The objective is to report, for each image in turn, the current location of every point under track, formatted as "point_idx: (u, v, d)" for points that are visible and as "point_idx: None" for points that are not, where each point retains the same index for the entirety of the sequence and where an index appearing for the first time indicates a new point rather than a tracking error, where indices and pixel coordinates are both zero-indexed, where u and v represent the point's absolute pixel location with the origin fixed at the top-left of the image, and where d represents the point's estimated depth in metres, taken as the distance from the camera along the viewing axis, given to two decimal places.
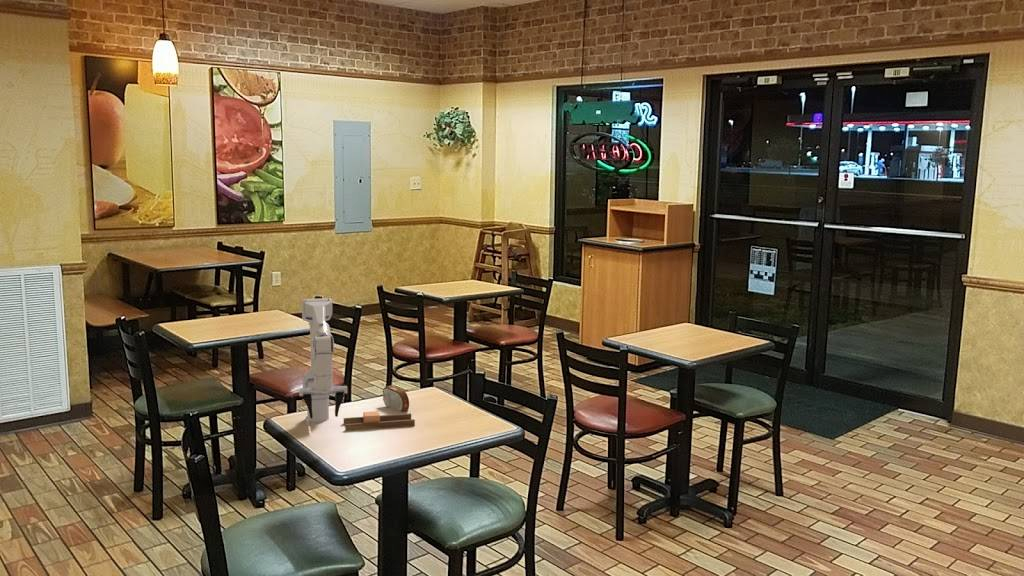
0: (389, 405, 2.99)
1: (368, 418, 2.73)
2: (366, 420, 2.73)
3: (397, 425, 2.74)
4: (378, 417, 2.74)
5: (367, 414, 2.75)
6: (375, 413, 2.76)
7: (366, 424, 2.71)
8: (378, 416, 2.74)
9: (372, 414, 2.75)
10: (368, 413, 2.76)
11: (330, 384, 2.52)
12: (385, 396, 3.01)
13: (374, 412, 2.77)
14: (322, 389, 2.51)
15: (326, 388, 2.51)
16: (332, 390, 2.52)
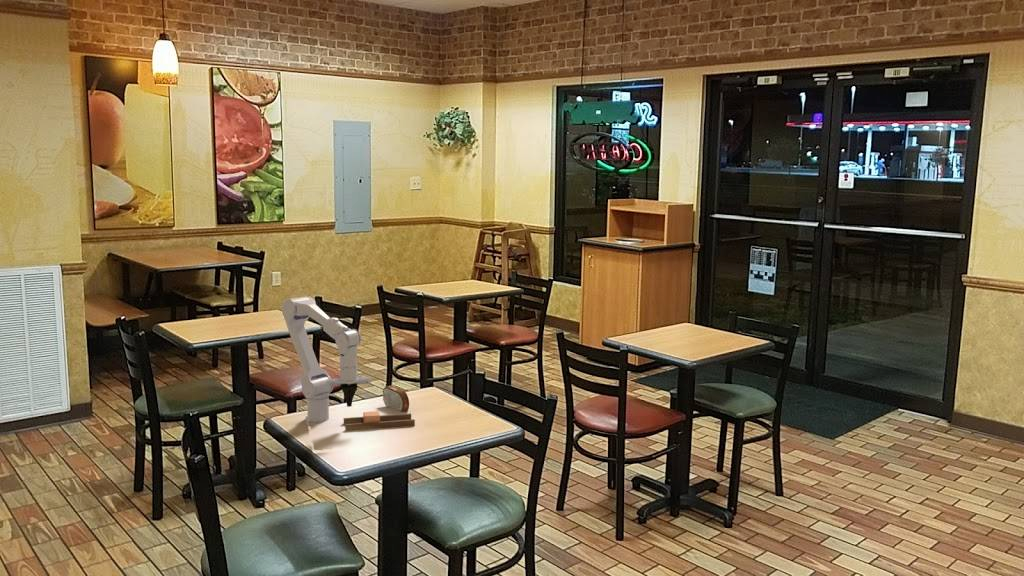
0: (389, 405, 2.99)
1: (368, 418, 2.73)
2: (366, 420, 2.73)
3: (397, 425, 2.74)
4: (378, 417, 2.74)
5: (367, 414, 2.75)
6: (375, 413, 2.76)
7: (366, 424, 2.71)
8: (378, 416, 2.74)
9: (372, 414, 2.75)
10: (368, 413, 2.76)
11: (355, 375, 2.70)
12: (385, 396, 3.01)
13: (374, 412, 2.77)
14: (348, 380, 2.69)
15: (351, 379, 2.69)
16: (357, 381, 2.70)
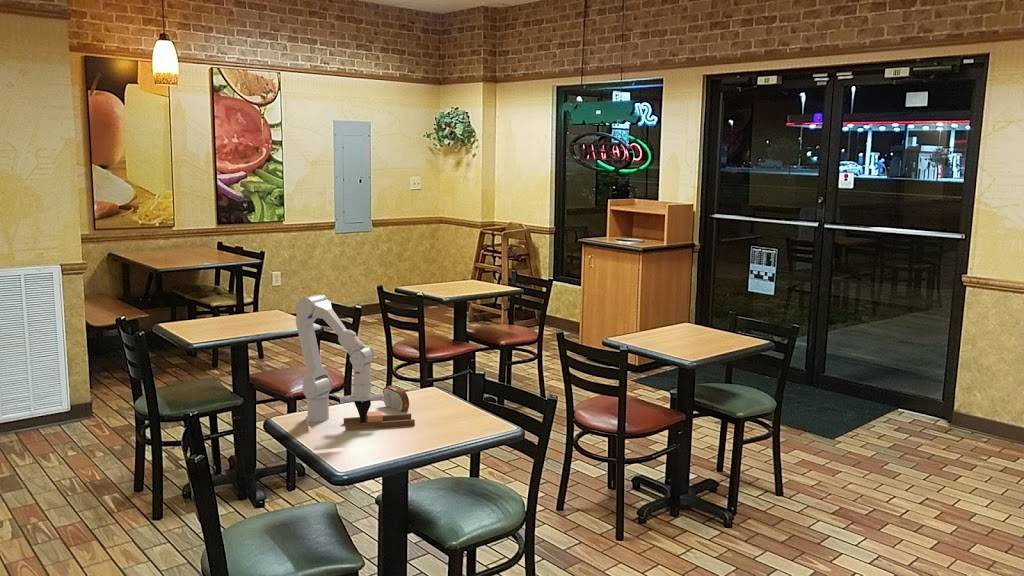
0: (389, 405, 2.99)
1: (371, 418, 2.73)
2: (369, 420, 2.73)
3: (397, 425, 2.74)
4: (381, 417, 2.74)
5: (369, 413, 2.75)
6: (377, 413, 2.76)
7: (366, 424, 2.71)
8: (381, 416, 2.74)
9: (374, 414, 2.75)
10: (370, 413, 2.76)
11: (369, 392, 2.72)
12: (385, 396, 3.01)
13: (377, 412, 2.77)
14: (361, 397, 2.71)
15: (365, 396, 2.71)
16: (371, 398, 2.72)
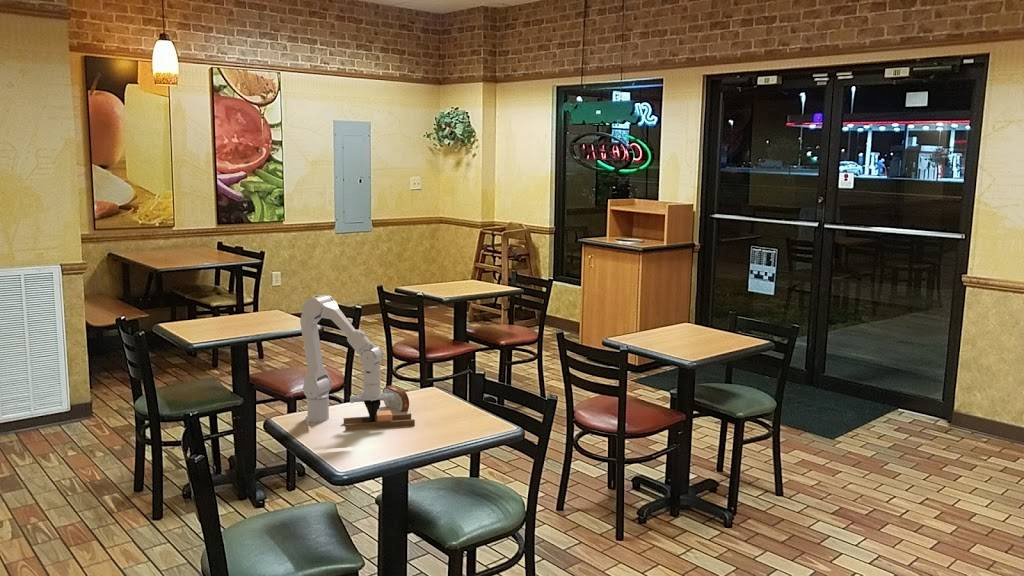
0: (389, 405, 2.99)
1: (380, 417, 2.74)
2: (378, 419, 2.74)
3: (397, 425, 2.74)
4: (390, 416, 2.75)
5: (379, 413, 2.76)
6: (387, 412, 2.77)
7: (366, 424, 2.71)
8: (390, 415, 2.75)
9: (384, 413, 2.76)
10: (380, 412, 2.77)
11: (378, 392, 2.73)
12: None
13: (386, 411, 2.78)
14: (371, 396, 2.72)
15: (375, 395, 2.72)
16: (380, 397, 2.73)
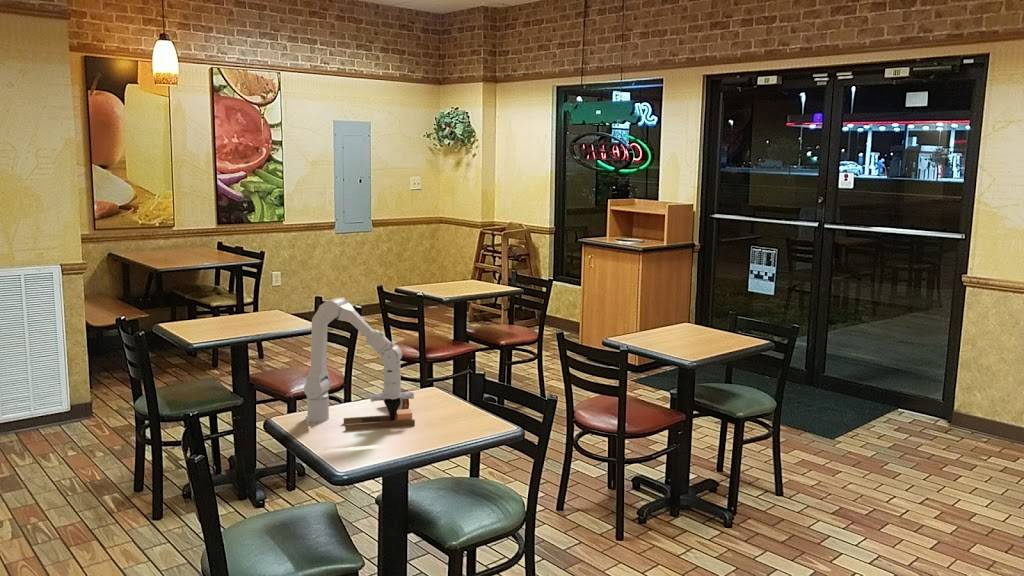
0: None
1: (400, 416, 2.76)
2: (399, 418, 2.76)
3: (397, 425, 2.74)
4: (410, 415, 2.77)
5: (399, 411, 2.78)
6: (407, 411, 2.79)
7: (366, 424, 2.71)
8: (410, 414, 2.77)
9: (404, 411, 2.78)
10: (400, 411, 2.79)
11: (399, 390, 2.75)
12: None
13: (406, 410, 2.80)
14: (392, 395, 2.74)
15: (395, 394, 2.74)
16: (400, 396, 2.75)
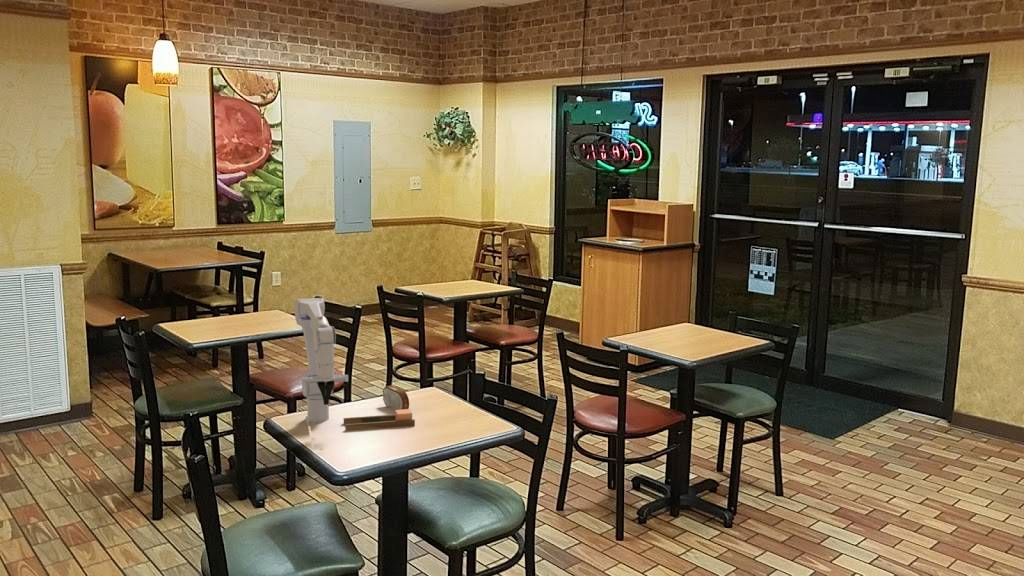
0: (389, 405, 2.99)
1: (400, 416, 2.76)
2: (399, 418, 2.76)
3: (397, 425, 2.74)
4: (410, 415, 2.77)
5: (399, 411, 2.78)
6: (407, 411, 2.79)
7: (366, 424, 2.71)
8: (410, 414, 2.77)
9: (404, 411, 2.78)
10: (400, 411, 2.79)
11: (332, 373, 2.66)
12: (385, 396, 3.01)
13: (406, 410, 2.80)
14: (324, 377, 2.65)
15: (328, 376, 2.65)
16: (334, 378, 2.67)
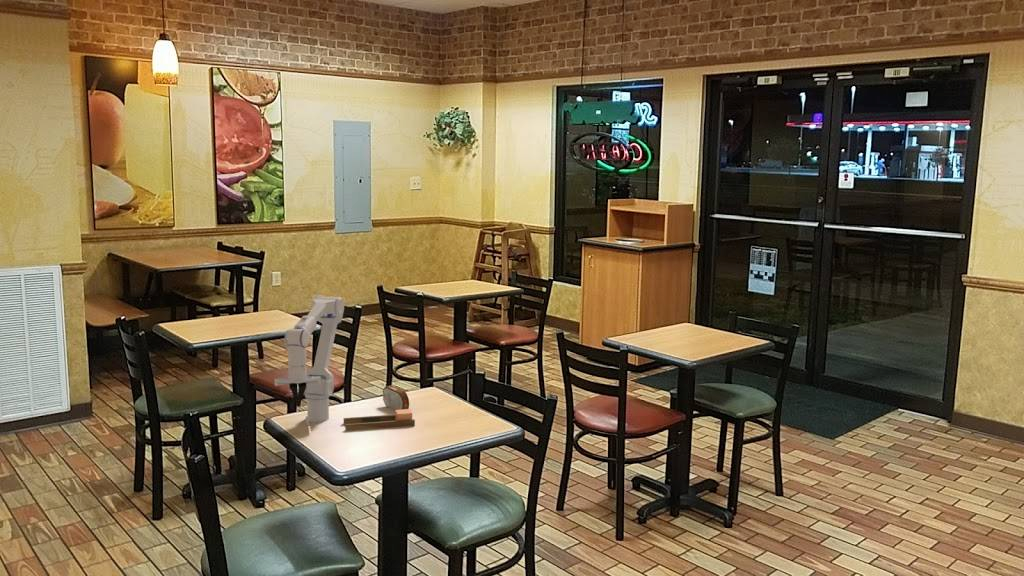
0: (389, 405, 2.99)
1: (400, 416, 2.76)
2: (399, 418, 2.76)
3: (397, 425, 2.74)
4: (410, 415, 2.77)
5: (399, 411, 2.78)
6: (407, 411, 2.79)
7: (366, 424, 2.71)
8: (410, 414, 2.77)
9: (404, 411, 2.78)
10: (400, 411, 2.79)
11: (304, 374, 2.64)
12: (385, 396, 3.01)
13: (406, 410, 2.80)
14: (296, 379, 2.62)
15: (300, 378, 2.63)
16: (306, 380, 2.64)
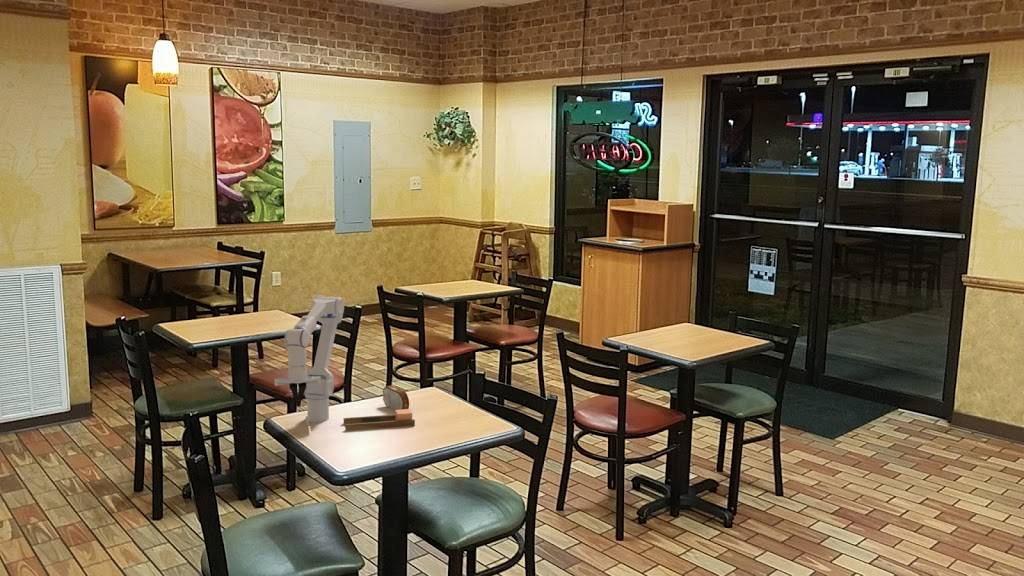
0: (389, 405, 2.99)
1: (400, 416, 2.76)
2: (399, 418, 2.76)
3: (397, 425, 2.74)
4: (410, 415, 2.77)
5: (399, 411, 2.78)
6: (407, 411, 2.79)
7: (366, 424, 2.71)
8: (410, 414, 2.77)
9: (404, 411, 2.78)
10: (400, 411, 2.79)
11: (304, 374, 2.64)
12: (385, 396, 3.01)
13: (406, 410, 2.80)
14: (296, 379, 2.62)
15: (300, 378, 2.63)
16: (306, 380, 2.64)
